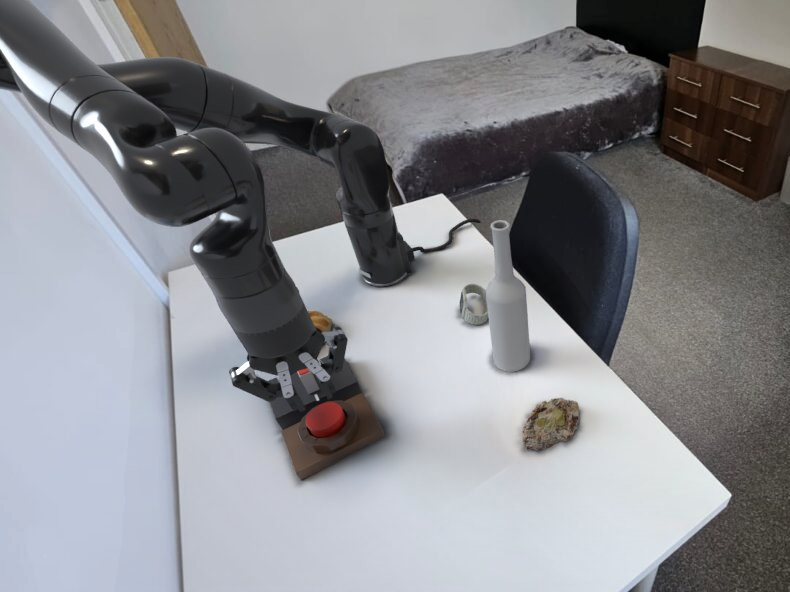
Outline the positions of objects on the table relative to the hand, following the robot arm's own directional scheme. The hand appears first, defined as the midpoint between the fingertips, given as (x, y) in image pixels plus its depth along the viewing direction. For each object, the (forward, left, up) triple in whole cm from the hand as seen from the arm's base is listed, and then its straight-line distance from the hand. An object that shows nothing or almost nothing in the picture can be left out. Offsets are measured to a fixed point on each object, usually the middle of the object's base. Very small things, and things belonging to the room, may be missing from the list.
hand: (315, 400), depth 65 cm
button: (0, 0, -6) cm, 6 cm away
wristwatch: (-31, -13, -9) cm, 35 cm away
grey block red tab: (0, -10, -6) cm, 12 cm away
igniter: (0, 0, -9) cm, 9 cm away
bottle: (-30, +2, -9) cm, 31 cm away
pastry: (-3, -24, -9) cm, 26 cm away
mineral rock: (-27, +18, -9) cm, 34 cm away
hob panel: (0, -10, -9) cm, 14 cm away
